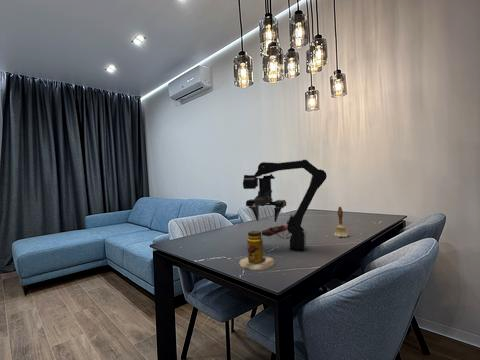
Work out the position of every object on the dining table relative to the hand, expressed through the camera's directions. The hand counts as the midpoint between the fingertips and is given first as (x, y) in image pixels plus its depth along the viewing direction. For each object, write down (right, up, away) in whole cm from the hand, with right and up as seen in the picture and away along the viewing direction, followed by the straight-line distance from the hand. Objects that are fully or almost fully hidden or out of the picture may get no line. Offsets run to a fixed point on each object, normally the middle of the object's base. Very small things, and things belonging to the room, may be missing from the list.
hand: (266, 221), depth 127 cm
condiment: (-6, -13, -19) cm, 24 cm away
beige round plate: (-6, -14, -20) cm, 25 cm away
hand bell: (+42, -11, +17) cm, 47 cm away
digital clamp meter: (+13, -12, +27) cm, 32 cm away
